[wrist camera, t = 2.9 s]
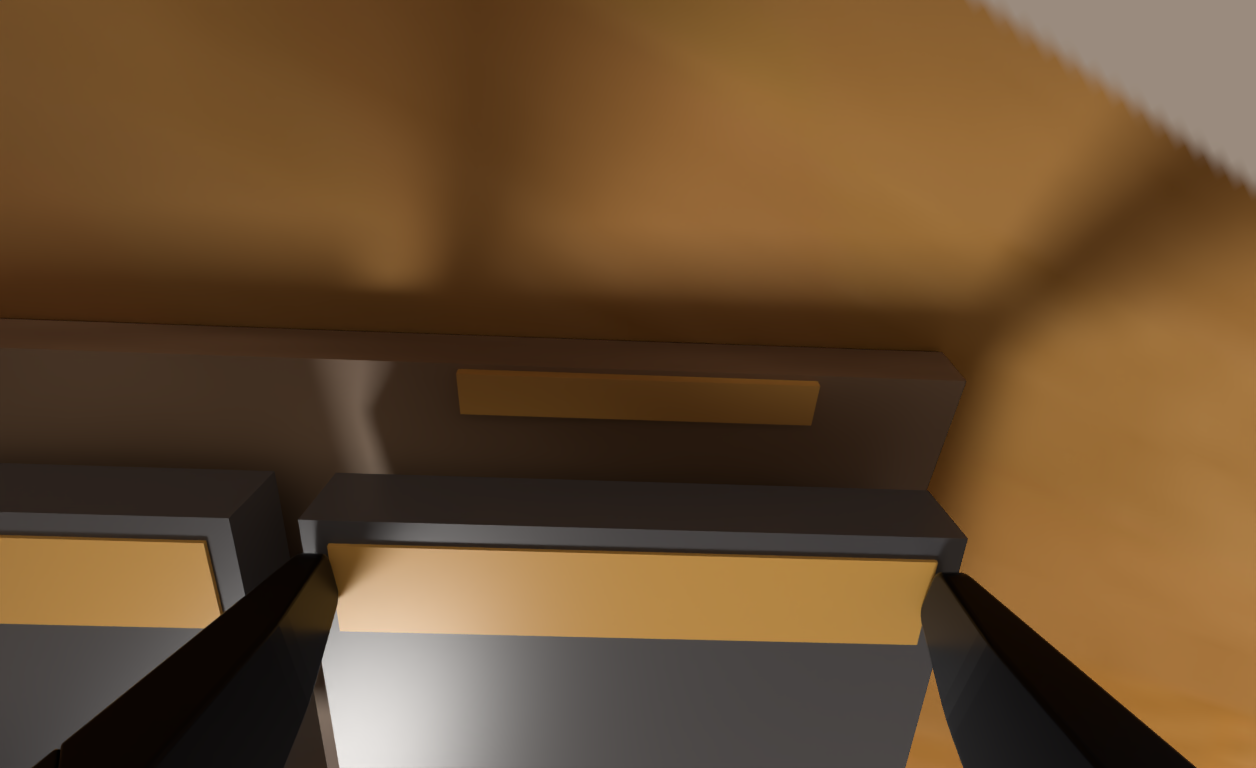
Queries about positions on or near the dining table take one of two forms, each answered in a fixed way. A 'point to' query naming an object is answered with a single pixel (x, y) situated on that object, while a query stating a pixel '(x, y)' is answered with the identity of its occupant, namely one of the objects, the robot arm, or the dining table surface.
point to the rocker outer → (625, 622)
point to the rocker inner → (120, 586)
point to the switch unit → (466, 409)
